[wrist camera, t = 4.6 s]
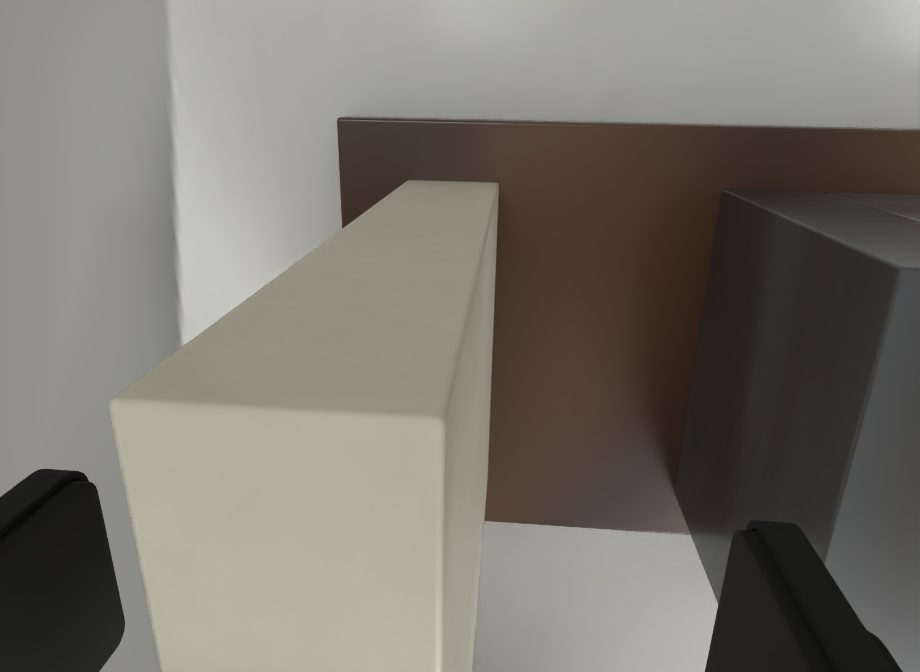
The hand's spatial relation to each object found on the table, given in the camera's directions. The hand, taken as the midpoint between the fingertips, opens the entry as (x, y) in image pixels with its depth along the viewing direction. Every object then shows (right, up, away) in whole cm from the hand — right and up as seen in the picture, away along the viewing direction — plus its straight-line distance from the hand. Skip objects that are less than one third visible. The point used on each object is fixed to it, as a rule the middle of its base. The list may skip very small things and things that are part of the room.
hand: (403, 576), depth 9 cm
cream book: (+1, +3, +9) cm, 9 cm away
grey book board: (+7, +3, +9) cm, 12 cm away
